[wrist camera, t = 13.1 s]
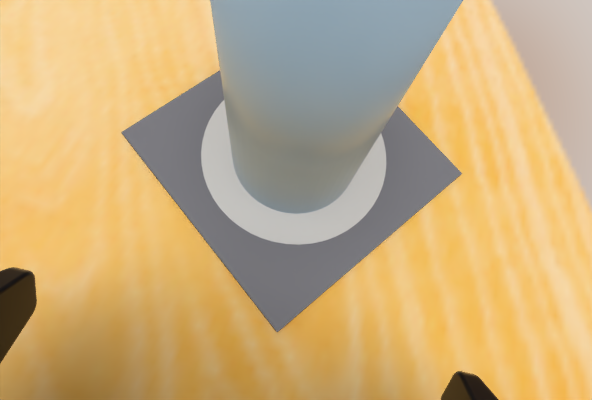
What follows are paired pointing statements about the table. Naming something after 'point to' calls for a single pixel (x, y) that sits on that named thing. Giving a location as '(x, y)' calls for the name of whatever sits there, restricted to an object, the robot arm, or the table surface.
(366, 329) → the table surface
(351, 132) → the pale blue capsule
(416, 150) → the pad
